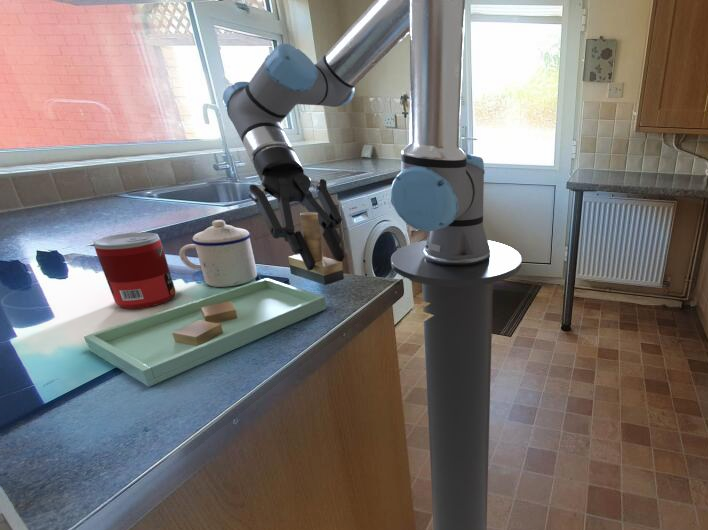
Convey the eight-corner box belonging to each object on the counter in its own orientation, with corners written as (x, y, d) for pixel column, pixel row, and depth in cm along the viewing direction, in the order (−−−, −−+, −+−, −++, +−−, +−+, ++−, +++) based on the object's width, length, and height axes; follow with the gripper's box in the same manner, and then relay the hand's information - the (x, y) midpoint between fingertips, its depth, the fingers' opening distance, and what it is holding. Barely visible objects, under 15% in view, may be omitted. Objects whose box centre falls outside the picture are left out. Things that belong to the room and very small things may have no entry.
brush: (310, 268, 80) (301, 208, 76) (344, 279, 75) (337, 215, 71) (290, 273, 77) (280, 211, 72) (325, 285, 72) (316, 219, 68)
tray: (269, 289, 77) (266, 277, 76) (326, 308, 70) (325, 296, 69) (89, 350, 56) (83, 336, 55) (148, 387, 49) (142, 371, 48)
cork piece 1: (200, 328, 61) (198, 319, 60) (223, 332, 60) (221, 323, 59) (174, 342, 57) (171, 332, 56) (198, 346, 56) (195, 337, 56)
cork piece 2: (232, 309, 67) (230, 300, 66) (237, 318, 64) (235, 309, 64) (202, 315, 64) (200, 307, 64) (206, 325, 62) (204, 316, 61)
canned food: (185, 297, 72) (167, 237, 67) (127, 314, 65) (103, 248, 61) (165, 287, 75) (146, 229, 71) (108, 302, 69) (84, 239, 65)
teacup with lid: (264, 269, 85) (252, 214, 81) (252, 286, 77) (238, 226, 73) (197, 273, 82) (181, 216, 78) (177, 291, 74) (158, 228, 70)
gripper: (317, 168, 85) (366, 262, 82) (218, 174, 73) (270, 285, 69) (325, 143, 80) (377, 242, 76) (220, 145, 68) (276, 263, 64)
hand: (326, 262), depth 73 cm, fingers closed on brush, 5 cm apart
